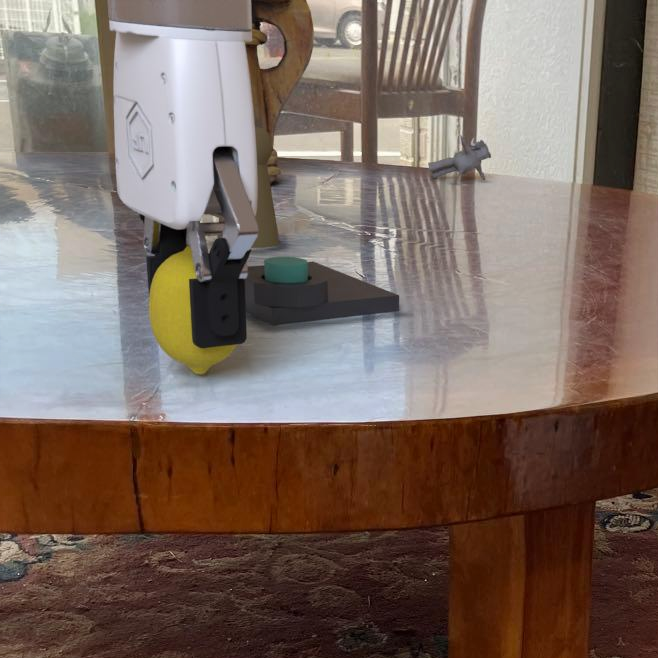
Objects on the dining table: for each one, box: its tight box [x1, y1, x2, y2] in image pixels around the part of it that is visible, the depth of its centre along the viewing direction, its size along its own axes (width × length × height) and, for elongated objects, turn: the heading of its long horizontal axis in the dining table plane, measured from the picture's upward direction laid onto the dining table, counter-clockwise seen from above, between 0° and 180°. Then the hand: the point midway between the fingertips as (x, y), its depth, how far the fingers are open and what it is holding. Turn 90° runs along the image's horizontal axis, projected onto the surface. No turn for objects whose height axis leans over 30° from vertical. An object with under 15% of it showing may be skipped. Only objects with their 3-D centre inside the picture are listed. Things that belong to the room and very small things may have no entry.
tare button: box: [263, 256, 309, 283], centre depth 84 cm, size 3×3×2 cm
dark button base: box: [245, 261, 400, 327], centre depth 89 cm, size 12×14×3 cm
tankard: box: [245, 0, 315, 186], centre depth 142 cm, size 18×24×25 cm
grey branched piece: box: [427, 134, 492, 183], centre depth 161 cm, size 10×6×9 cm
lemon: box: [148, 245, 238, 375], centre depth 68 cm, size 6×6×8 cm
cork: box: [216, 126, 281, 249], centre depth 108 cm, size 6×6×11 cm
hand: (197, 328), depth 69 cm, fingers closed on lemon, 5 cm apart
